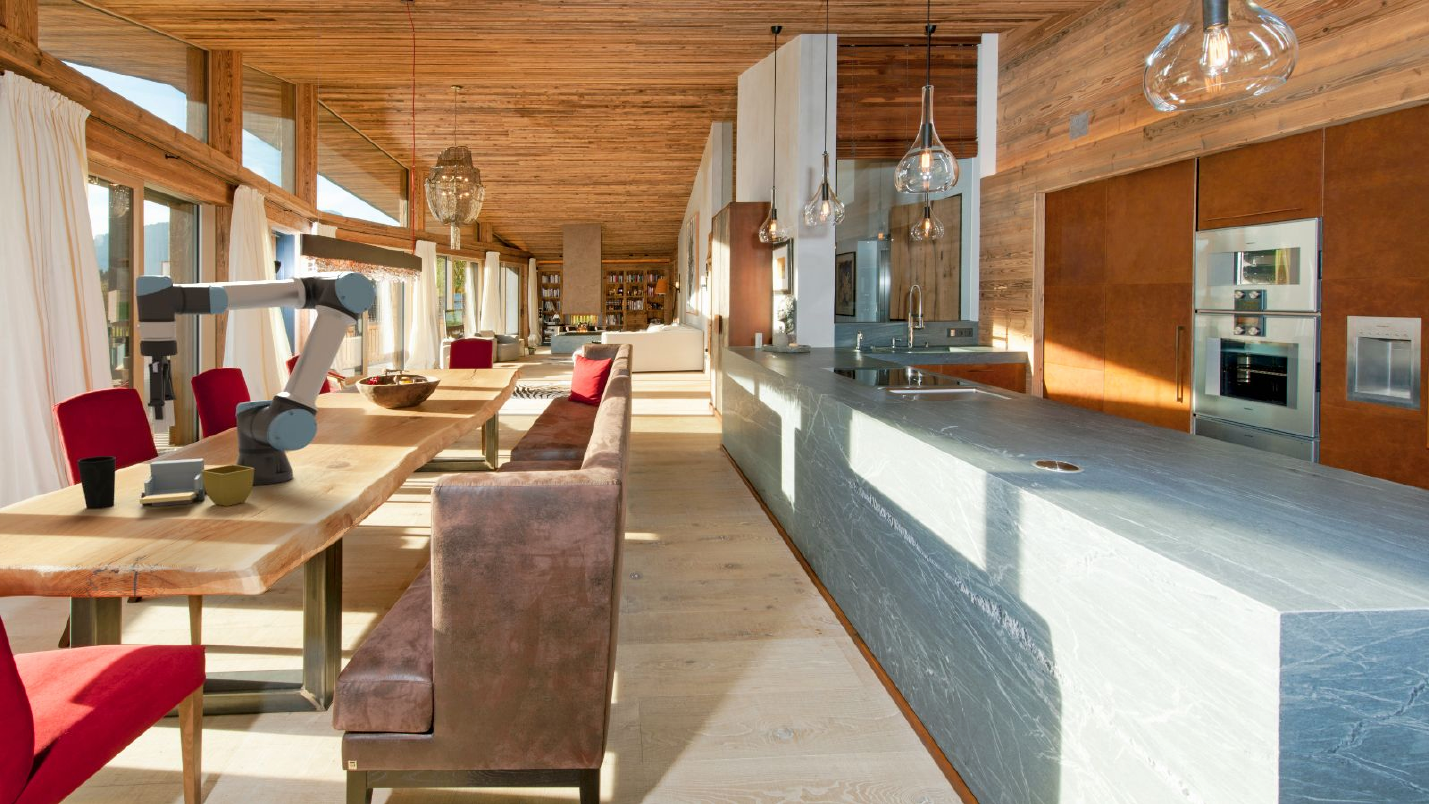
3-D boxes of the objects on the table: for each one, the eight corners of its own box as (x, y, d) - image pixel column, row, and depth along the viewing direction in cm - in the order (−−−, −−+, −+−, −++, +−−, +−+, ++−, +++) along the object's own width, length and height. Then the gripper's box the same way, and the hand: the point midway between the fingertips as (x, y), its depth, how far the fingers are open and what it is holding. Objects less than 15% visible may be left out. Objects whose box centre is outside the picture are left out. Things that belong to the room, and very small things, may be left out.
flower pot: (257, 501, 214) (255, 467, 212) (225, 509, 206) (222, 474, 205) (234, 497, 217) (232, 464, 216) (202, 505, 209) (199, 470, 208)
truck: (209, 490, 225) (207, 458, 223) (202, 502, 212) (200, 467, 211) (151, 495, 219) (149, 461, 218) (141, 507, 207) (138, 472, 206)
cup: (99, 511, 203) (94, 462, 201) (73, 509, 204) (69, 461, 203) (126, 503, 210) (123, 457, 209) (101, 501, 212) (98, 455, 210)
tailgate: (195, 491, 211) (190, 495, 203) (196, 495, 211) (190, 499, 203) (147, 495, 207) (139, 499, 199) (147, 499, 207) (139, 503, 199)
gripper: (148, 337, 210) (155, 423, 213) (129, 342, 190) (137, 437, 193) (183, 337, 213) (189, 422, 216) (168, 341, 193) (175, 435, 196)
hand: (164, 429), depth 204 cm, fingers open, 10 cm apart
